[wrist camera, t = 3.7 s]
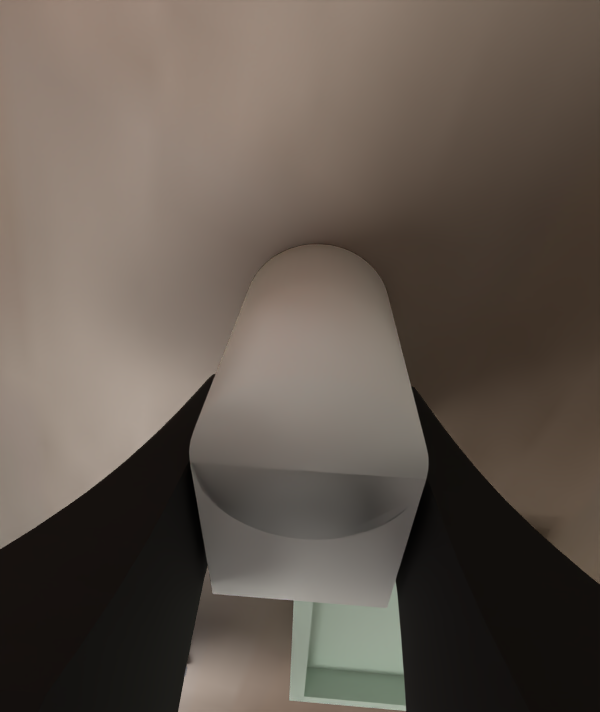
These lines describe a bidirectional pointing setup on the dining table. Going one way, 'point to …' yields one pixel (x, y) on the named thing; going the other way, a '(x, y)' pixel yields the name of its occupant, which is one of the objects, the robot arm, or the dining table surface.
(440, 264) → the dining table surface
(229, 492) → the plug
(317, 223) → the dining table surface
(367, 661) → the tray
